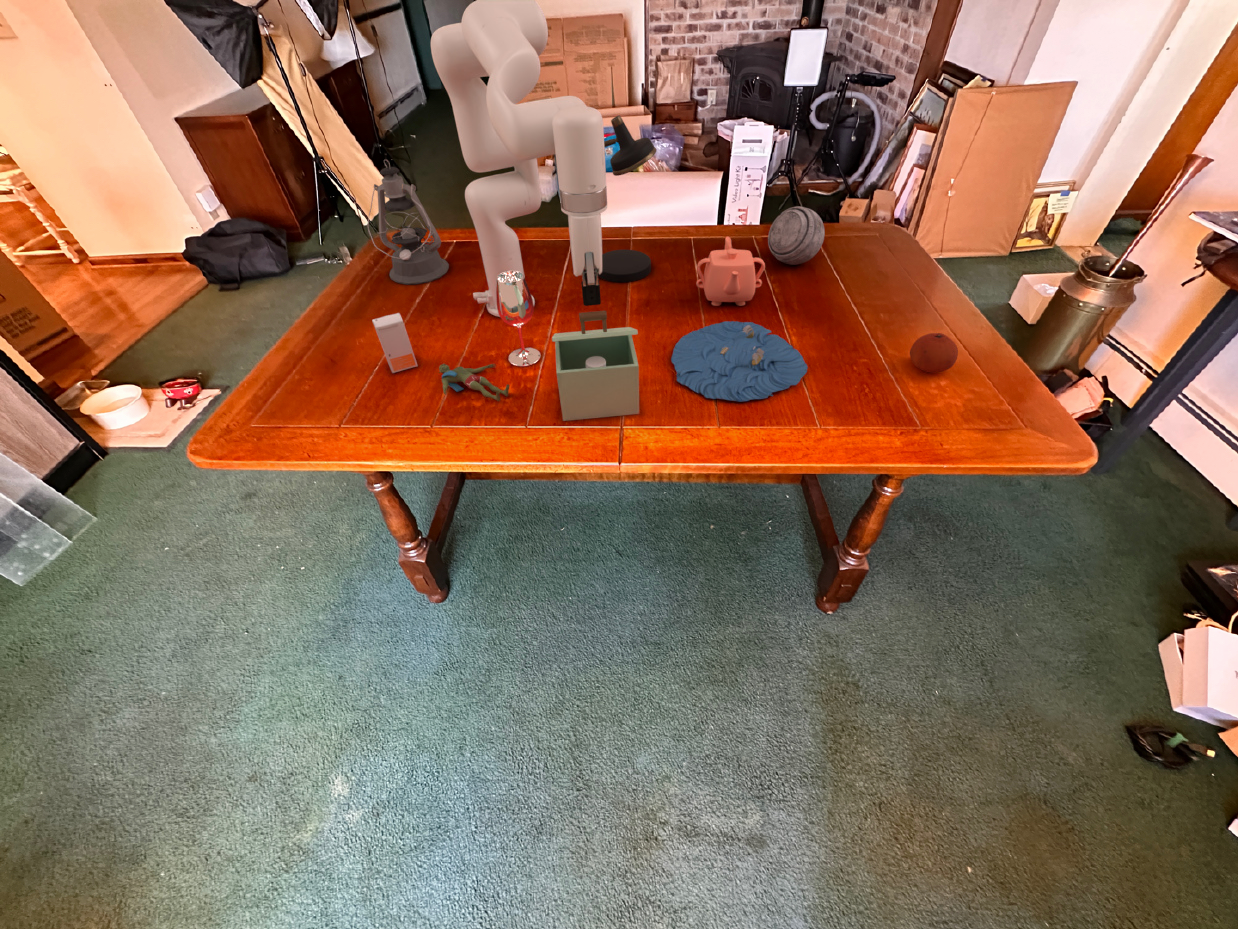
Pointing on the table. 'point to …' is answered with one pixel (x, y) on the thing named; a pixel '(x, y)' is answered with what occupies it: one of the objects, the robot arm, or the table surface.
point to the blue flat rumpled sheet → (736, 362)
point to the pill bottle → (595, 362)
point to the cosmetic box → (395, 342)
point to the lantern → (407, 234)
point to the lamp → (628, 158)
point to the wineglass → (516, 312)
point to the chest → (597, 378)
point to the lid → (593, 333)
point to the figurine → (469, 380)
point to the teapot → (729, 275)
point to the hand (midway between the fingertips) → (591, 302)
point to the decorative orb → (796, 235)
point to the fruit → (934, 352)
